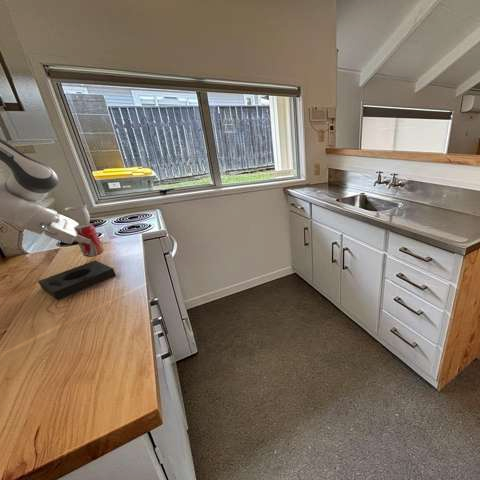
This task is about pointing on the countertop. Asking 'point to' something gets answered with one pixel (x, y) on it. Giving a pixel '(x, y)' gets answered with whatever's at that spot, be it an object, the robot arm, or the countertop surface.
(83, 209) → the chalice
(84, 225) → the beverage can
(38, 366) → the countertop surface
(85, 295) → the countertop surface
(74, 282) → the dock pad
